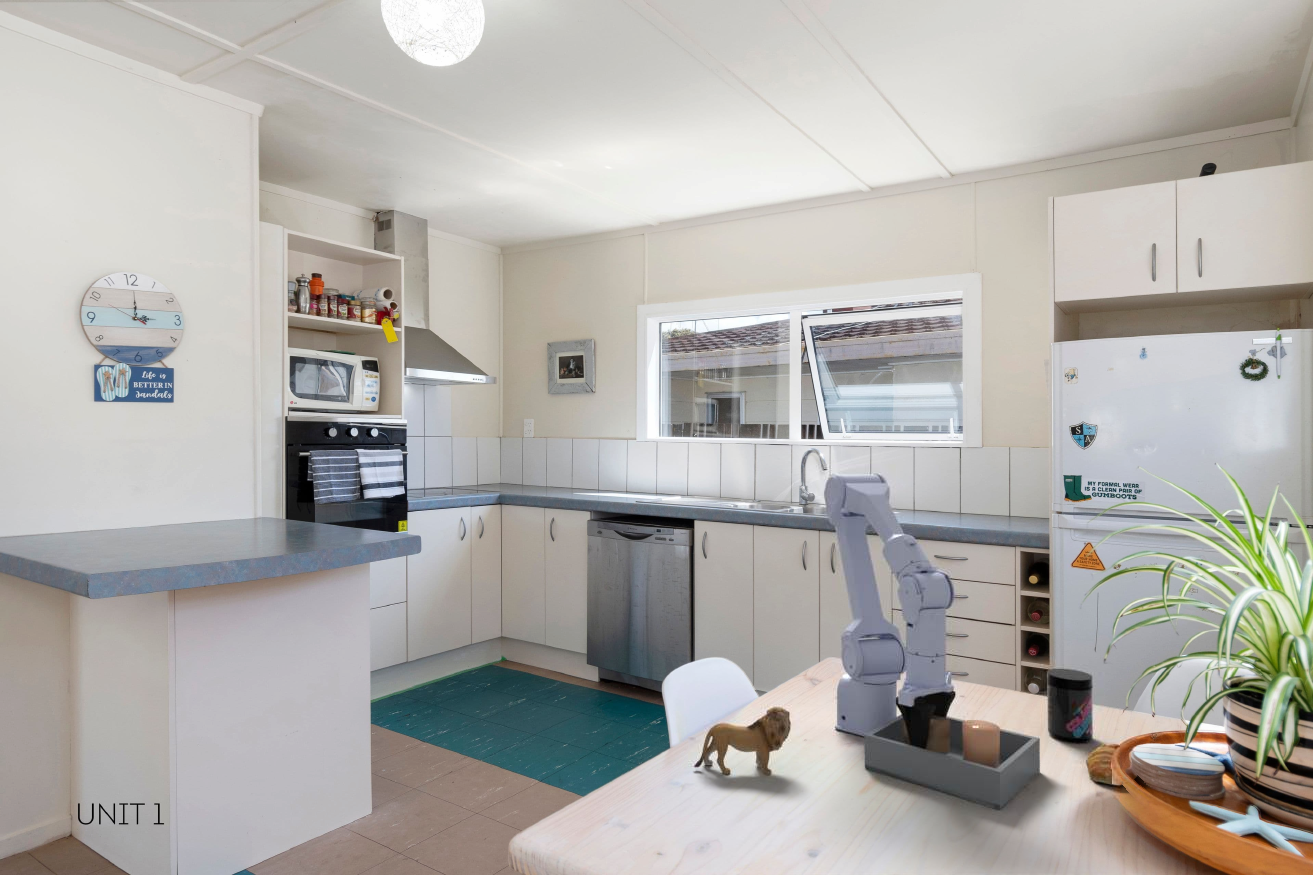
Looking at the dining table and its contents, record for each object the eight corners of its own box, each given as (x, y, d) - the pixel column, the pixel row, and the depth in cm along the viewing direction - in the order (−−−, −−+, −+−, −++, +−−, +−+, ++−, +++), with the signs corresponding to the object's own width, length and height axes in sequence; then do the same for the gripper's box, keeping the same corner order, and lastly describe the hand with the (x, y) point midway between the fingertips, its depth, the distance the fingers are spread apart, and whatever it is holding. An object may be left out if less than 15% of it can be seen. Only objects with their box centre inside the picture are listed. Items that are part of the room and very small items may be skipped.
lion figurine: (785, 760, 119) (785, 701, 119) (795, 774, 113) (795, 712, 113) (691, 763, 117) (691, 704, 117) (696, 778, 112) (697, 716, 112)
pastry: (1132, 794, 107) (1131, 767, 107) (1078, 781, 112) (1077, 755, 112) (1143, 773, 114) (1142, 747, 115) (1091, 761, 119) (1091, 737, 119)
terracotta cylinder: (958, 775, 111) (958, 727, 112) (967, 764, 115) (967, 717, 116) (995, 784, 108) (995, 734, 109) (1003, 772, 112) (1003, 724, 113)
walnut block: (903, 752, 116) (903, 719, 116) (917, 743, 120) (917, 710, 120) (936, 761, 113) (936, 727, 113) (949, 751, 117) (949, 718, 117)
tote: (864, 768, 115) (864, 734, 116) (912, 738, 128) (912, 707, 128) (1000, 809, 102) (1000, 771, 102) (1039, 771, 114) (1039, 738, 114)
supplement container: (1058, 743, 125) (1058, 679, 126) (1040, 729, 132) (1039, 668, 132) (1101, 745, 125) (1100, 680, 125) (1080, 730, 132) (1080, 668, 132)
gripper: (931, 666, 109) (931, 763, 109) (970, 647, 119) (971, 735, 119) (884, 657, 114) (885, 750, 113) (926, 639, 124) (926, 724, 124)
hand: (926, 742), depth 117 cm, fingers closed on walnut block, 5 cm apart
